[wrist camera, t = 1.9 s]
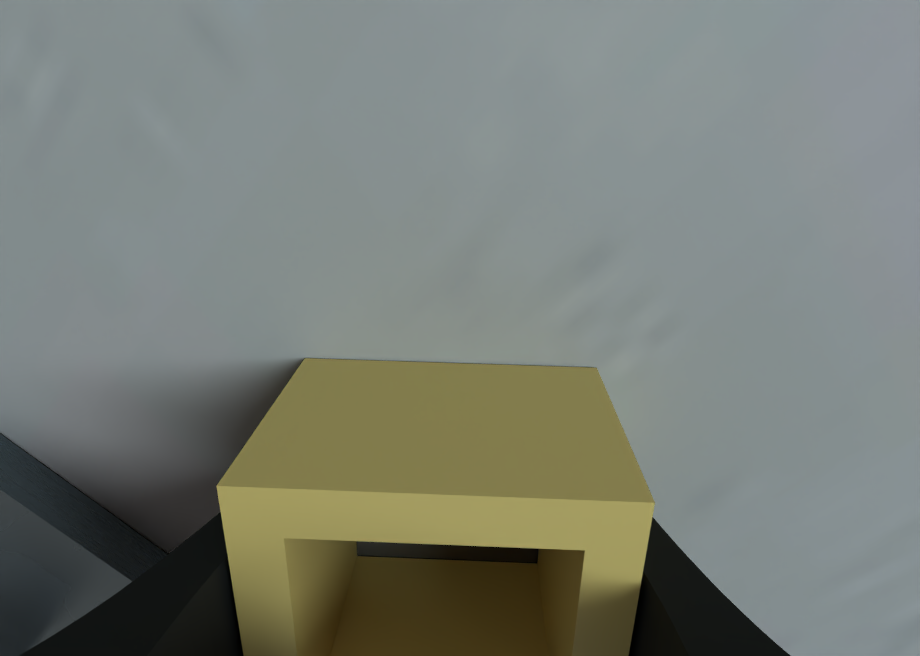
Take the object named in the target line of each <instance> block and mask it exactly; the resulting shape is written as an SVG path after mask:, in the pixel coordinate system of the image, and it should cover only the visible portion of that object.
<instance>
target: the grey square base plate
mask: <svg viewBox="0 0 920 656" xmlns="http://www.w3.org/2000/svg"><path fill="white" fill-rule="evenodd" d="M166 556H167V554H166V553H165V552H163V551H162V550H160V549H159V548H158V547H156V546H155V545H154V544H152V543H151V542H149V541H148V540H147V539H145V538H144V537H142V536H141V535H140V534H138V533H137V532H135V531H134V530H133V529H131V528H130V527H129V526H127V525H126V524H124V523H123V522H122V521H120V520H119V519H117V518H116V517H115V516H113V515H112V514H111V513H109V512H108V511H106V510H105V509H104V508H102V507H101V506H99V505H98V504H97V503H95V502H94V501H93V500H91V499H90V498H88V497H87V496H86V495H84V494H83V493H81V492H80V491H79V490H77V489H76V488H75V487H73V486H72V485H70V484H69V483H68V482H66V481H65V480H63V479H62V478H61V477H59V476H58V475H57V474H55V473H54V472H52V471H51V470H50V469H48V468H47V467H45V466H44V465H43V464H41V463H40V462H39V461H37V460H36V459H34V458H33V457H32V456H30V455H29V454H27V453H26V452H25V451H23V450H22V449H21V448H19V447H18V446H16V445H15V444H14V443H12V442H11V441H9V440H8V439H7V438H5V437H4V436H3V435H1V434H0V656H19V655H20V654H22V653H24V652H26V651H28V650H29V649H31V648H33V647H35V646H36V645H38V644H39V643H41V642H43V641H44V640H46V639H48V638H49V637H51V636H52V635H54V634H56V633H57V632H59V631H60V630H62V629H63V628H65V627H67V626H68V625H70V624H71V623H73V622H74V621H76V620H77V619H79V618H81V617H82V616H84V615H85V614H87V613H88V612H90V611H91V610H93V609H94V608H96V607H97V606H99V605H100V604H102V603H103V602H105V601H106V600H107V599H109V598H110V597H112V596H113V595H115V594H116V593H117V592H119V591H120V590H122V589H123V588H124V587H126V586H127V585H128V584H130V583H131V582H132V581H134V580H135V579H136V578H138V577H139V576H140V575H142V574H143V573H144V572H146V571H147V570H148V569H150V568H151V567H152V566H154V565H155V564H156V563H158V562H159V561H160V560H162V559H163V558H164V557H166Z"/></svg>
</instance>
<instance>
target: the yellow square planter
mask: <svg viewBox="0 0 920 656" xmlns="http://www.w3.org/2000/svg"><path fill="white" fill-rule="evenodd" d="M217 492H218V499H219V505H220V511H221V517H222V524H223V530H224V536H225V542H226V549H227V555H228V561H229V567H230V574H231V580H232V586H233V592H234V599H235V605H236V611H237V617H238V624H239V630H240V636H241V643H242V649H243V655H244V656H629V650H630V644H631V639H632V633H633V627H634V621H635V615H636V609H637V604H638V598H639V592H640V586H641V580H642V575H643V569H644V563H645V557H646V551H647V545H648V540H649V534H650V528H651V522H652V516H653V511H654V505H655V502H654V500H653V497H652V495H651V493H650V490H649V488H648V486H647V484H646V481H645V479H644V477H643V474H642V472H641V470H640V467H639V465H638V463H637V460H636V458H635V456H634V453H633V451H632V449H631V446H630V444H629V442H628V439H627V437H626V435H625V433H624V430H623V428H622V426H621V423H620V421H619V419H618V416H617V414H616V412H615V409H614V407H613V405H612V402H611V400H610V398H609V395H608V393H607V391H606V388H605V386H604V384H603V381H602V379H601V377H600V375H599V372H598V370H597V368H588V367H558V366H527V365H496V364H465V363H434V362H404V361H373V360H342V359H311V358H305V359H304V360H303V362H302V363H301V365H300V366H299V367H298V369H297V370H296V372H295V373H294V375H293V376H292V378H291V379H290V380H289V382H288V383H287V385H286V386H285V388H284V389H283V391H282V392H281V393H280V395H279V396H278V398H277V399H276V401H275V402H274V404H273V405H272V406H271V408H270V409H269V411H268V412H267V414H266V415H265V417H264V418H263V419H262V421H261V422H260V424H259V425H258V427H257V428H256V430H255V431H254V432H253V434H252V435H251V437H250V438H249V440H248V441H247V443H246V444H245V445H244V447H243V448H242V450H241V451H240V453H239V454H238V456H237V457H236V459H235V460H234V461H233V463H232V464H231V466H230V467H229V469H228V470H227V472H226V473H225V474H224V476H223V477H222V479H221V480H220V482H219V483H218V485H217ZM356 541H365V542H390V543H414V544H439V545H463V546H488V547H513V548H537V549H539V551H538V562H537V564H535V563H511V562H487V561H462V560H438V559H414V558H390V557H365V556H357V543H356Z"/></svg>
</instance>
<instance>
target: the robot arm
mask: <svg viewBox="0 0 920 656" xmlns="http://www.w3.org/2000/svg"><path fill="white" fill-rule="evenodd" d="M19 656H244V655H243V649H242V643H241V636H240V630H239V624H238V617H237V611H236V605H235V599H234V592H233V586H232V580H231V574H230V567H229V561H228V555H227V549H226V542H225V536H224V530H223V524H222V517H221V512H220V513H219V514H218V515H216V516H215V517H214V518H213V519H212V520H210V521H209V522H208V523H207V524H206V525H204V526H203V527H202V528H201V529H199V530H198V531H197V532H196V533H195V534H193V535H192V536H191V537H190V538H188V539H187V540H186V541H185V542H183V543H182V544H181V545H180V546H179V547H177V548H176V549H175V550H174V551H172V552H171V553H170V554H168V555H167V556H166V557H164V558H163V559H162V560H160V561H159V562H158V563H156V564H155V565H154V566H152V567H151V568H150V569H148V570H147V571H146V572H144V573H143V574H142V575H140V576H139V577H138V578H136V579H135V580H134V581H132V582H131V583H130V584H128V585H127V586H126V587H124V588H123V589H122V590H120V591H119V592H117V593H116V594H115V595H113V596H112V597H110V598H109V599H107V600H106V601H105V602H103V603H102V604H100V605H99V606H97V607H96V608H94V609H93V610H91V611H90V612H88V613H87V614H85V615H84V616H82V617H81V618H79V619H77V620H76V621H74V622H73V623H71V624H70V625H68V626H67V627H65V628H63V629H62V630H60V631H59V632H57V633H56V634H54V635H52V636H51V637H49V638H48V639H46V640H44V641H43V642H41V643H39V644H38V645H36V646H35V647H33V648H31V649H29V650H28V651H26V652H24V653H22V654H20V655H19ZM629 656H790V655H789V654H788V653H787V652H785V651H784V650H783V649H782V648H781V647H779V646H778V645H777V644H776V643H775V642H774V641H773V640H771V639H770V638H769V637H768V636H767V635H766V634H765V633H764V632H763V631H761V630H760V629H759V628H758V627H757V626H756V625H755V624H754V623H753V622H752V621H751V620H750V619H749V618H748V617H747V616H745V615H744V614H743V613H742V612H741V611H740V610H739V609H738V608H737V607H736V606H735V605H734V604H733V603H732V602H731V601H730V600H729V599H728V598H727V597H726V596H725V595H724V594H723V593H722V592H721V591H720V590H719V589H718V588H717V587H716V586H715V585H714V584H713V583H712V582H711V581H710V580H709V579H708V578H707V577H706V576H705V575H704V574H703V573H702V571H701V570H700V569H699V568H698V567H697V566H696V565H695V564H694V563H693V562H692V561H691V560H690V559H689V558H688V557H687V555H686V554H685V553H684V552H683V551H682V550H681V549H680V548H679V547H678V545H677V544H676V543H675V542H674V541H673V540H672V539H671V538H670V536H669V535H668V534H667V533H666V532H665V531H664V530H663V528H662V527H661V526H660V525H659V524H658V523H657V522H656V520H655V519H654V518H653V517H652V522H651V528H650V534H649V540H648V545H647V551H646V557H645V563H644V569H643V575H642V580H641V586H640V592H639V598H638V604H637V609H636V615H635V621H634V627H633V633H632V639H631V644H630V650H629Z"/></svg>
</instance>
